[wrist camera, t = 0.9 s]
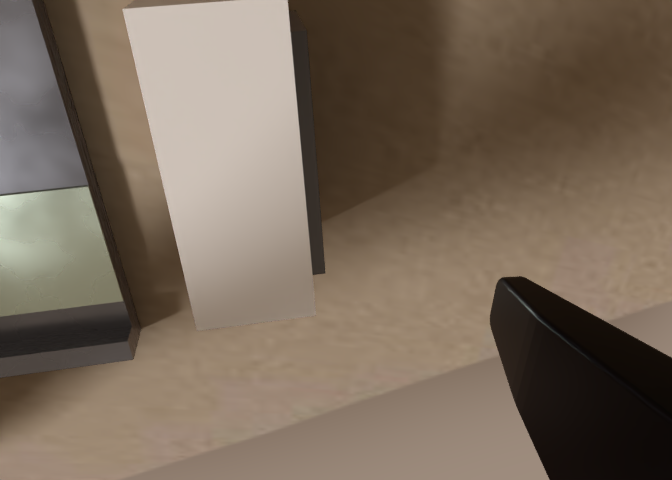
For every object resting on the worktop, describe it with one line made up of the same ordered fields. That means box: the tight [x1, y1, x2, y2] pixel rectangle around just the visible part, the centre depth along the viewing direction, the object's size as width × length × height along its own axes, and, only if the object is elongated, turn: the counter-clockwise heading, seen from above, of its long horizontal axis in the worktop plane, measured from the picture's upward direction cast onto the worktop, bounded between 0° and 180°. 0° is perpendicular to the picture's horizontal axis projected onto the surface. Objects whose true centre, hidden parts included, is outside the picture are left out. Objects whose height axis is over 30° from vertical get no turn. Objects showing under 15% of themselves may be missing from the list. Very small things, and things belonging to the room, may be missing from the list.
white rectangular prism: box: [123, 0, 325, 331], centre depth 19 cm, size 4×10×6 cm, turn 3°
